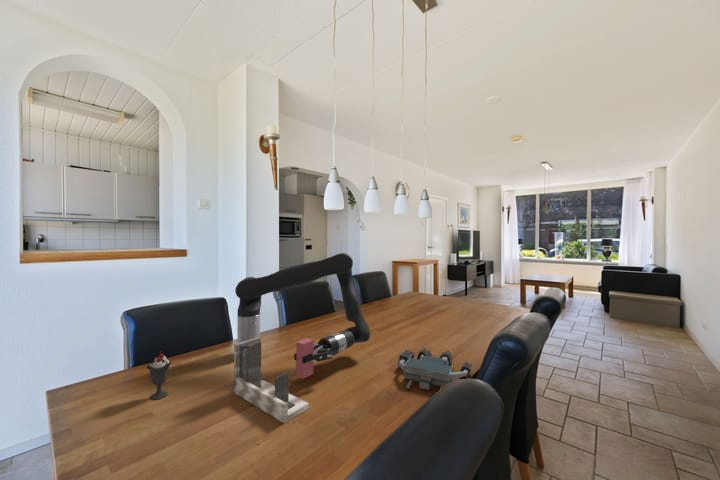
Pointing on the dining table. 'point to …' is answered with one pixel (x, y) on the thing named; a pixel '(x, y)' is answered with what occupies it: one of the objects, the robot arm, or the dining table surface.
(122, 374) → the dining table surface
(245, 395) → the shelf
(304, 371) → the book
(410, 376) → the toy
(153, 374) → the sundae
